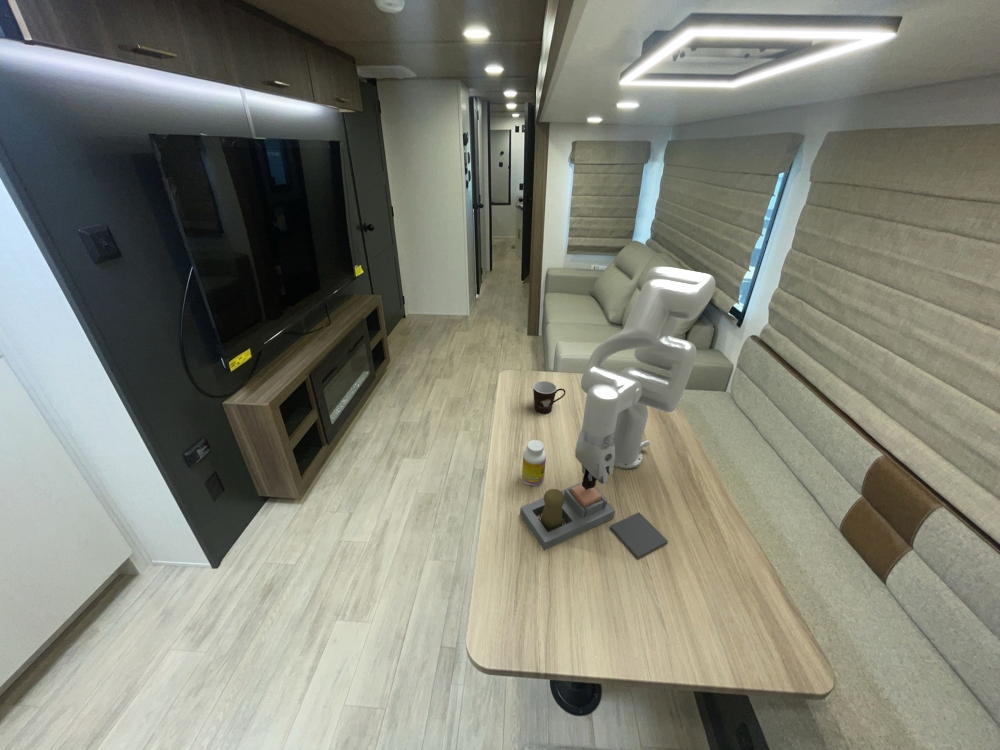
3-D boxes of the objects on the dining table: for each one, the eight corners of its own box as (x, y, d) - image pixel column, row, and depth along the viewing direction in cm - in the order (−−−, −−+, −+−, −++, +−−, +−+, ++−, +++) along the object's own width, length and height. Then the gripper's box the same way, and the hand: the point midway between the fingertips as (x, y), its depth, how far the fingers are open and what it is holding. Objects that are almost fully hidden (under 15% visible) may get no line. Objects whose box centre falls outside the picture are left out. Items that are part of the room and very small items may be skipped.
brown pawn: (547, 536, 100) (551, 506, 94) (535, 519, 105) (538, 489, 99) (567, 527, 102) (571, 498, 97) (554, 510, 107) (557, 481, 101)
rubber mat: (638, 514, 107) (639, 512, 106) (667, 543, 99) (668, 540, 99) (609, 527, 103) (610, 525, 102) (637, 559, 95) (638, 557, 95)
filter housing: (585, 487, 115) (588, 473, 112) (613, 518, 105) (617, 503, 103) (520, 514, 106) (521, 500, 103) (544, 550, 97) (546, 536, 94)
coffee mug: (529, 413, 145) (530, 391, 140) (534, 401, 152) (535, 379, 147) (560, 419, 143) (563, 396, 137) (564, 406, 150) (566, 384, 145)
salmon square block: (586, 489, 109) (588, 481, 108) (599, 503, 105) (601, 495, 103) (570, 495, 107) (571, 488, 105) (583, 510, 103) (584, 502, 101)
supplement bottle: (542, 488, 114) (545, 454, 107) (519, 484, 115) (522, 451, 109) (544, 472, 120) (548, 439, 113) (523, 468, 121) (525, 436, 114)
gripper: (631, 447, 90) (618, 501, 100) (590, 411, 102) (582, 463, 111) (605, 457, 87) (595, 512, 97) (566, 420, 99) (560, 472, 108)
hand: (588, 486), depth 104 cm, fingers closed
